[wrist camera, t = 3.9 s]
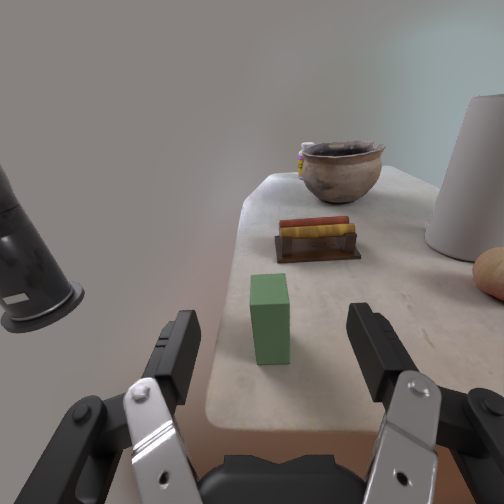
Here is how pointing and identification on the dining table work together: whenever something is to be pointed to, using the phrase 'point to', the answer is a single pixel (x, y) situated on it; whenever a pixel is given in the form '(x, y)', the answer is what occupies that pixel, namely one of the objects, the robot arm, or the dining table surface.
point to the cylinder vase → (472, 186)
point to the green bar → (270, 318)
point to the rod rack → (316, 240)
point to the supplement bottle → (301, 158)
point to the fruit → (490, 272)
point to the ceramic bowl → (341, 169)
